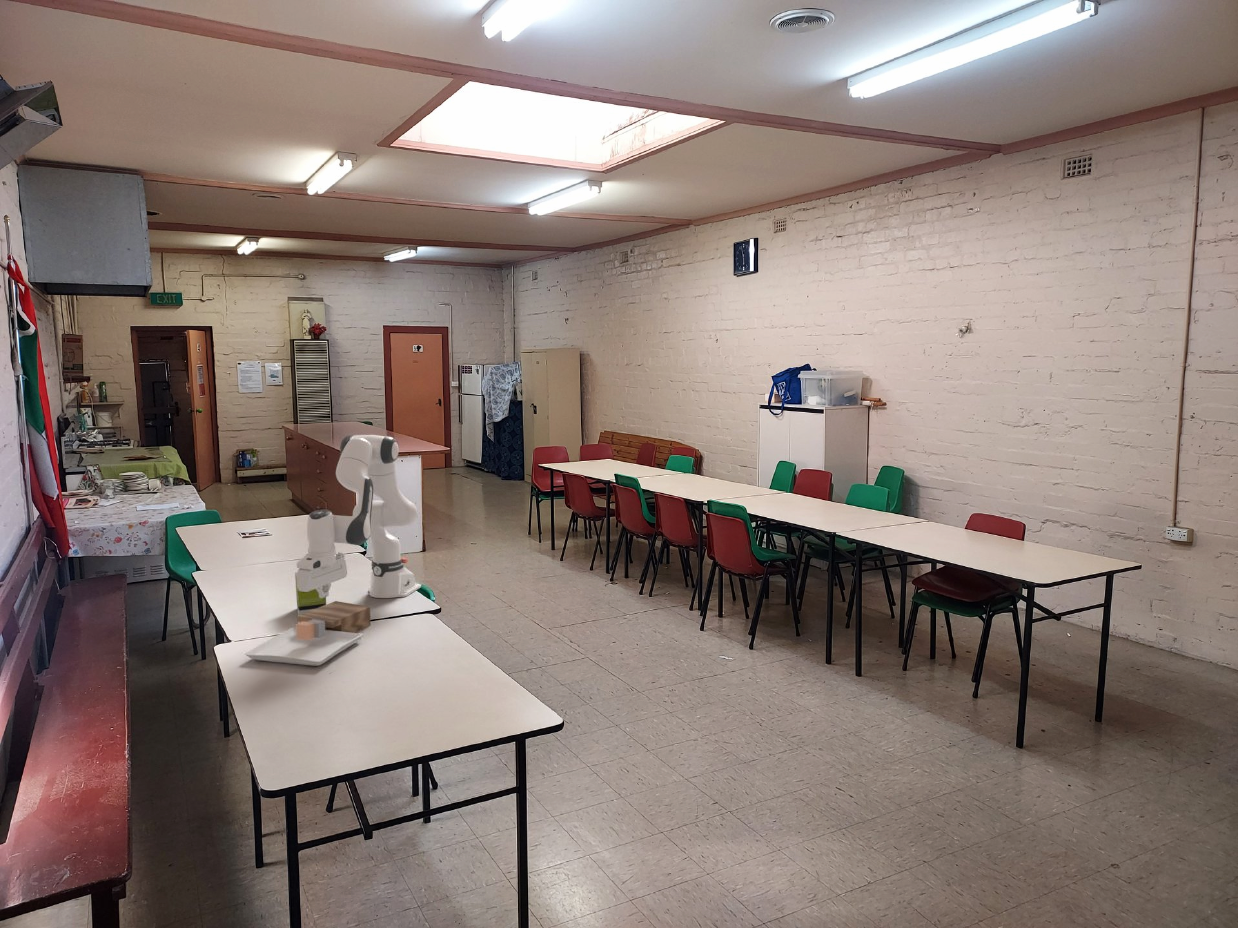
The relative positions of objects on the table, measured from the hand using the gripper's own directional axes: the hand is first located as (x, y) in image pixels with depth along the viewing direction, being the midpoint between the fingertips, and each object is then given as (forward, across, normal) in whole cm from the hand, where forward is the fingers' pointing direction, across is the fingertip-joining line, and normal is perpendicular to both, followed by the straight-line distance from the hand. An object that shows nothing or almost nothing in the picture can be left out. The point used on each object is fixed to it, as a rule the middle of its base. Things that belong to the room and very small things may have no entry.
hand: (323, 596), depth 280 cm
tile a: (+10, +7, -1) cm, 12 cm away
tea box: (+16, -20, -26) cm, 37 cm away
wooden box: (+16, -9, -4) cm, 18 cm away
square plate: (+16, +11, +2) cm, 20 cm away
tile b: (+10, +4, +1) cm, 10 cm away
